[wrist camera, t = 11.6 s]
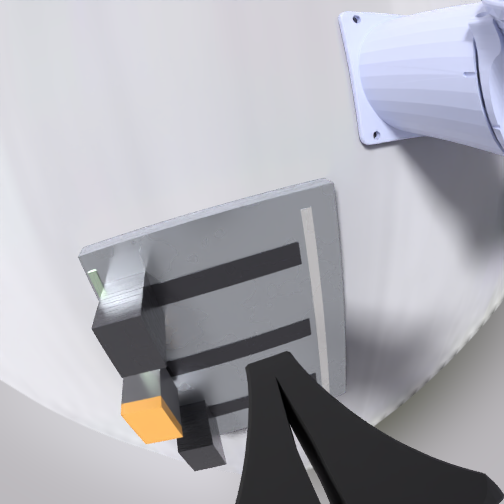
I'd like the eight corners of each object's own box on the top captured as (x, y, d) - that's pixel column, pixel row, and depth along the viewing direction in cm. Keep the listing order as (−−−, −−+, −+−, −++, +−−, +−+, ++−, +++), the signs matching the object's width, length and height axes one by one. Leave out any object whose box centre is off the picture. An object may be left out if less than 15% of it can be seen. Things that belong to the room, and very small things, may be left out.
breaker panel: (323, 177, 18) (374, 204, 13) (340, 383, 26) (366, 426, 22) (83, 247, 16) (56, 297, 12) (185, 431, 24) (193, 482, 20)
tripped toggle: (159, 356, 18) (161, 406, 15) (177, 389, 20) (182, 437, 16) (124, 365, 18) (120, 414, 15) (145, 396, 20) (146, 444, 16)
